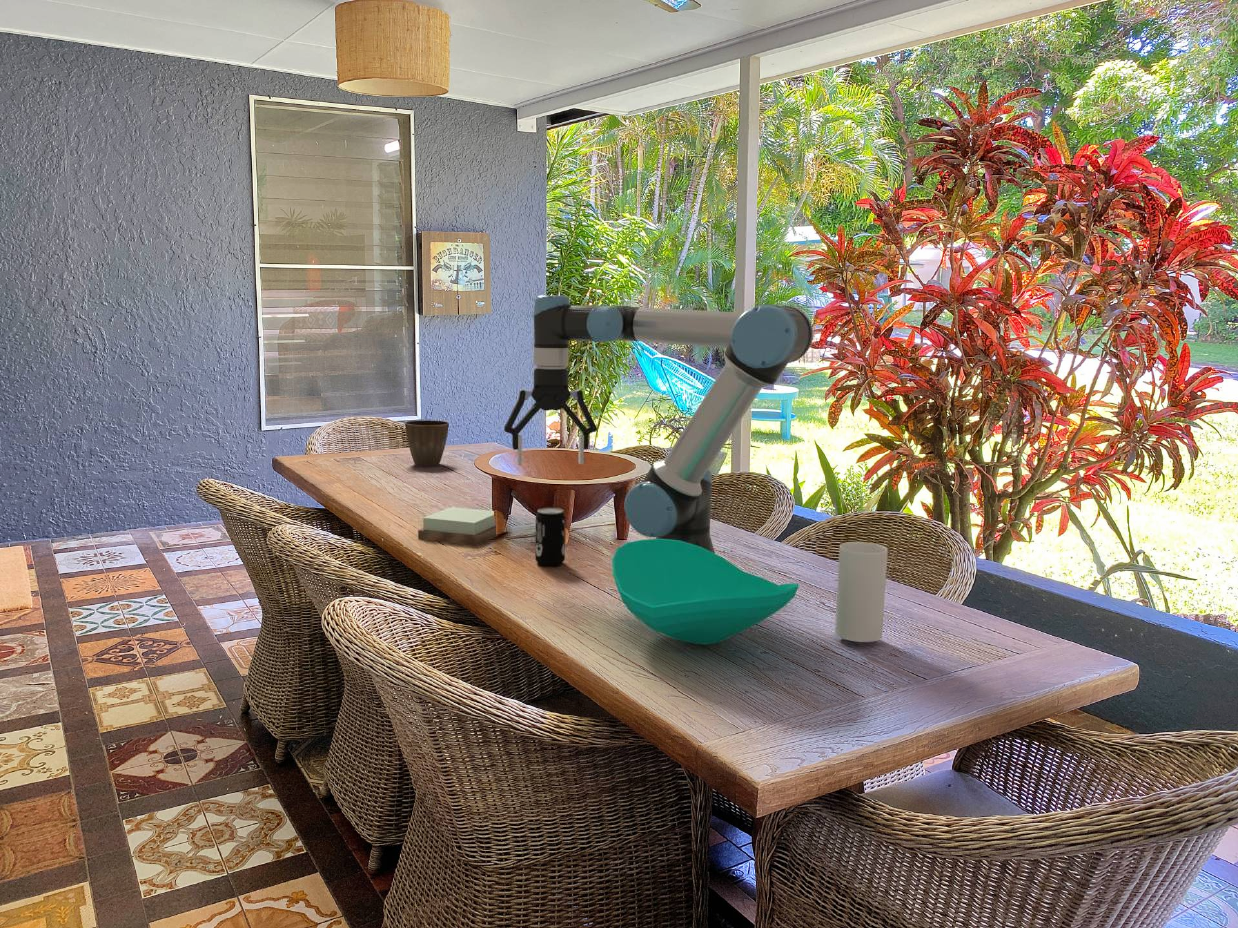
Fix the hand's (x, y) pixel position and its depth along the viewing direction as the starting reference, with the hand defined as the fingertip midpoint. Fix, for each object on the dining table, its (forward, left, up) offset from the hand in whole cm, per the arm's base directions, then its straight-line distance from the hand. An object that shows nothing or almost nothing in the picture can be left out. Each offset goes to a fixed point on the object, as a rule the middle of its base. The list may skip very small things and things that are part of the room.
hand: (550, 464), depth 216 cm
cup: (-70, +23, -23) cm, 77 cm away
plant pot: (+89, -98, -23) cm, 134 cm away
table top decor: (-44, +35, -23) cm, 61 cm away
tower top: (+30, -15, -20) cm, 39 cm away
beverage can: (0, 0, -23) cm, 23 cm away
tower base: (+30, -15, -23) cm, 41 cm away
